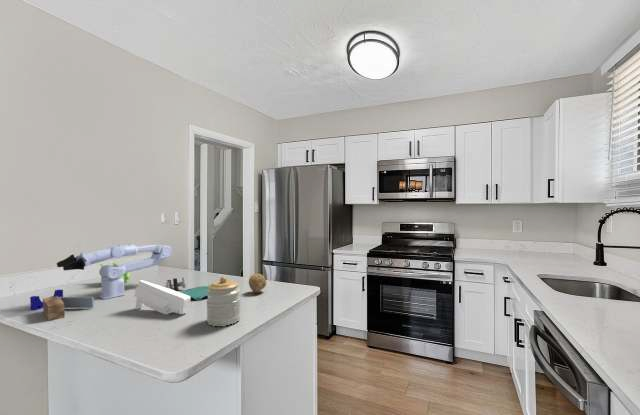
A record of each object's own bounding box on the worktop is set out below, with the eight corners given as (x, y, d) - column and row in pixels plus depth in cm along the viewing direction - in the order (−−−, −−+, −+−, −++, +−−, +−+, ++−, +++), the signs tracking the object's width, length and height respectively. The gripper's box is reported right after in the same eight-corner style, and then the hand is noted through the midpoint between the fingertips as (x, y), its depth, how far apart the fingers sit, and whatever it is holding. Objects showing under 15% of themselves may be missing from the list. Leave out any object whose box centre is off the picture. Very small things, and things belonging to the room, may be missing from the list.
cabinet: (58, 309, 136) (57, 295, 136) (64, 317, 126) (64, 303, 126) (43, 312, 133) (43, 298, 132) (48, 321, 122) (48, 306, 122)
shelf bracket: (142, 307, 138) (146, 278, 137) (188, 325, 130) (193, 295, 129) (130, 311, 133) (134, 282, 132) (177, 331, 124) (182, 299, 123)
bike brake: (189, 288, 165) (167, 289, 175) (188, 275, 165) (165, 277, 175) (166, 295, 153) (144, 296, 163) (165, 282, 153) (142, 283, 163)
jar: (221, 330, 110) (221, 282, 110) (199, 323, 117) (198, 278, 117) (247, 318, 121) (247, 275, 121) (226, 312, 128) (225, 271, 128)
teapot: (96, 288, 170) (95, 266, 170) (99, 283, 182) (99, 262, 182) (129, 284, 178) (129, 263, 178) (131, 279, 190) (130, 259, 190)
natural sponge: (258, 289, 163) (258, 271, 163) (270, 291, 158) (269, 272, 158) (245, 293, 156) (245, 274, 156) (257, 296, 151) (256, 276, 151)
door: (62, 306, 138) (62, 296, 138) (95, 306, 137) (94, 296, 137) (58, 308, 136) (58, 297, 136) (92, 307, 136) (92, 297, 136)
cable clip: (55, 301, 148) (55, 289, 148) (63, 301, 147) (62, 289, 147) (28, 309, 136) (27, 296, 136) (35, 310, 136) (35, 297, 136)
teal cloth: (170, 298, 151) (170, 293, 151) (216, 284, 178) (216, 280, 178) (197, 304, 142) (197, 299, 142) (242, 288, 168) (241, 283, 168)
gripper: (87, 247, 152) (53, 255, 141) (99, 252, 144) (64, 261, 133) (89, 260, 154) (55, 269, 142) (102, 266, 146) (67, 276, 135)
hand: (60, 266), depth 138 cm, fingers open, 7 cm apart
